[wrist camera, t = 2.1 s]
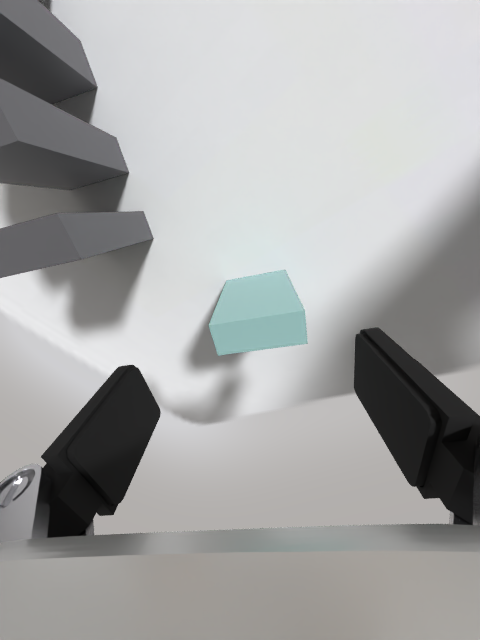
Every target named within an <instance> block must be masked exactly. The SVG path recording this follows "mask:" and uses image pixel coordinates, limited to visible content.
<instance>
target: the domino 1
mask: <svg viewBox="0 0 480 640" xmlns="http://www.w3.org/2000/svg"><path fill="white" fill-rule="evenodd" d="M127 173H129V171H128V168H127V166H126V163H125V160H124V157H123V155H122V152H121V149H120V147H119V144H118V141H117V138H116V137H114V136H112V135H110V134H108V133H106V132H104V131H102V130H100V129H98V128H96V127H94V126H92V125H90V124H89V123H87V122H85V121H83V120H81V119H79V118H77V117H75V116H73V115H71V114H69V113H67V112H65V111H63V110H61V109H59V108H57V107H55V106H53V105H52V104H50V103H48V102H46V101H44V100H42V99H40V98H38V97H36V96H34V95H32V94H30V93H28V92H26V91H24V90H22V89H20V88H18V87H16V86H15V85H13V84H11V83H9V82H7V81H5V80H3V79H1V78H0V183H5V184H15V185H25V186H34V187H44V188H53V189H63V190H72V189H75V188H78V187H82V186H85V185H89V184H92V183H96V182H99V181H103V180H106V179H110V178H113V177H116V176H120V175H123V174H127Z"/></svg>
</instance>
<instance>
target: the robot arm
mask: <svg viewBox="0 0 480 640" xmlns="http://www.w3.org/2000/svg"><path fill="white" fill-rule="evenodd" d="M354 388H355V392H356V394H357V396H358V398H359V399H360V401H361V403H362V404H363V406H364V408H365V410H366V411H367V413H368V415H369V417H370V418H371V420H372V422H373V423H374V425H375V427H376V428H377V430H378V432H379V434H380V435H381V437H382V439H383V440H384V442H385V444H386V445H387V447H388V449H389V451H390V452H391V454H392V456H393V457H394V459H395V461H396V462H397V464H398V466H399V468H400V469H401V471H402V473H403V474H404V476H405V478H406V479H407V481H408V482H409V484H410V485H411V486H414V487H415V486H417V488H418V490H419V491H420V493H421V494H422V496H423V498H424V499H428V498H440V499H441V501H442V502H443V504H444V505H445V507H446V508H447V509H448V510H450V520H449V524H400V525H398V524H397V525H349V526H318V527H288V528H260V529H233V530H207V531H182V532H159V533H158V532H157V533H136V534H112V535H94V526H93V518H94V516H95V514H96V513H98V514H99V515H100V516H103V515H114V512H115V510H116V508H117V506H118V504H119V503H120V502H121V501H122V500H123V498H124V496H125V494H126V491H127V489H128V487H129V485H130V483H131V480H132V478H133V476H134V474H135V472H136V469H137V467H138V465H139V463H140V460H141V458H142V456H143V454H144V451H145V449H146V447H147V445H148V442H149V440H150V438H151V436H152V433H153V431H154V429H155V427H156V424H157V422H158V420H159V418H160V408H159V406H158V404H157V403H156V401H155V399H154V397H153V395H152V393H151V391H150V389H149V387H148V385H147V383H146V382H145V380H144V378H143V376H142V374H141V372H140V370H139V369H138V368H137V367H135V366H134V365H127V366H120V367H118V368H117V369H116V370H115V371H114V372H113V374H112V375H111V376H110V377H109V378H108V379H107V381H106V382H105V383H104V384H103V385H102V386H101V387H100V389H99V390H98V391H97V392H96V393H95V394H94V396H93V397H92V398H91V399H90V400H89V401H88V403H87V404H86V405H85V406H84V407H83V408H82V409H81V411H80V412H79V413H78V414H77V415H76V416H75V418H74V419H73V420H72V421H71V422H70V423H69V425H68V426H67V427H66V428H65V429H64V430H63V432H62V433H61V434H60V435H59V436H58V437H57V438H56V440H55V441H54V442H53V443H52V444H51V446H50V447H49V448H48V449H47V450H46V451H45V452H44V454H43V455H42V456H41V458H42V459H44V461H45V462H46V463H47V464H46V465H45V466H44V468H42V467H41V466H40V465H38V464H30V465H27V466H24V467H22V468H20V469H18V470H16V471H15V472H13V473H12V474H10V475H9V476H7V477H6V478H5V479H4V480H2V481H1V482H0V640H480V416H479V415H478V414H477V413H476V412H474V411H473V410H472V409H471V408H470V407H469V406H468V405H467V404H465V403H464V402H463V401H462V400H461V399H460V398H459V397H457V396H456V395H455V394H454V393H453V392H452V391H451V390H450V389H448V388H447V387H446V386H445V385H444V384H443V383H442V382H440V381H439V380H438V379H437V378H436V377H435V376H434V375H433V374H431V373H430V372H429V371H428V370H427V369H426V368H425V367H423V366H422V365H421V364H420V363H419V362H418V361H416V360H415V359H413V358H412V357H411V356H410V355H409V354H408V353H407V352H405V351H404V350H403V349H402V348H401V347H400V346H399V345H398V344H396V343H395V342H394V341H393V340H392V339H391V338H390V337H389V336H387V335H386V334H385V333H384V332H383V331H382V330H381V329H379V328H370V329H363V330H361V331H360V334H357V335H356V338H355V370H354Z"/></svg>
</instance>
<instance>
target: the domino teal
mask: <svg viewBox="0 0 480 640" xmlns="http://www.w3.org/2000/svg"><path fill="white" fill-rule="evenodd" d="M209 329H210V332H211V335H212V338H213V341H214V345H215V348H216V351H217V354H218V356H219V355H226V354H234V353H241V352H249V351H256V350H263V349H271V348H278V347H286V346H293V345H301V344H308V343H307V331H306V319H305V310H304V308H303V305H302V303H301V301H300V299H299V297H298V295H297V293H296V291H295V289H294V287H293V285H292V283H291V281H290V279H289V277H288V274H287V272H286V270H280V271H275V272H270V273H264V274H259V275H254V276H248V277H243V278H238V279H232V280H227V281H226V283H225V286H224V288H223V291H222V293H221V296H220V298H219V301H218V303H217V306H216V308H215V311H214V313H213V316H212V318H211V320H210V323H209Z"/></svg>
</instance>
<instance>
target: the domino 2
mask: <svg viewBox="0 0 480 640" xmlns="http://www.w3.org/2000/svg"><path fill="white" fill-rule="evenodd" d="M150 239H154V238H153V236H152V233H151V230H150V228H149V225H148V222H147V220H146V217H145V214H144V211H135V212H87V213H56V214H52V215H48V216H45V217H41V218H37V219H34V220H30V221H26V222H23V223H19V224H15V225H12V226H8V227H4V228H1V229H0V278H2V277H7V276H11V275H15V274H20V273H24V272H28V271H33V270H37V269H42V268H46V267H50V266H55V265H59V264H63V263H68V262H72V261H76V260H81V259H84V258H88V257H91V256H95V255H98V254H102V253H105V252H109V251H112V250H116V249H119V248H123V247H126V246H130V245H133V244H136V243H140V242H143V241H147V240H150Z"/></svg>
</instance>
